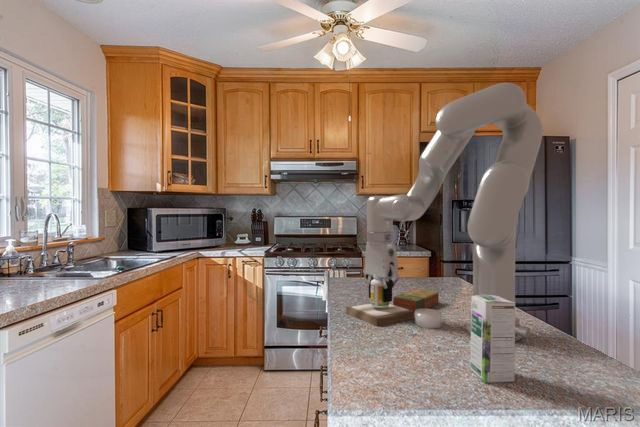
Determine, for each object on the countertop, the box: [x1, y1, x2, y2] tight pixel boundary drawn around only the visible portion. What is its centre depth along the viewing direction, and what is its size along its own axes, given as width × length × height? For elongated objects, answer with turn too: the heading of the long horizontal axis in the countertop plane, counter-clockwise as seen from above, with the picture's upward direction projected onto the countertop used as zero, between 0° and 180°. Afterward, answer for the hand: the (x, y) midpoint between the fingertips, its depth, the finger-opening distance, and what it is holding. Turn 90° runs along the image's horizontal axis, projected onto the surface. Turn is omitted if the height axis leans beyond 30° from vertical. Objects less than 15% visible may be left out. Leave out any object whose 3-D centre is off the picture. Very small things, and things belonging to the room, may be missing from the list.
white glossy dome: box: [414, 308, 443, 329], centre depth 98 cm, size 7×7×4 cm
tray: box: [345, 302, 415, 327], centre depth 106 cm, size 14×14×2 cm
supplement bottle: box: [370, 274, 390, 308], centre depth 106 cm, size 5×5×10 cm
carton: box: [392, 288, 440, 314], centre depth 118 cm, size 8×16×4 cm, turn 138°
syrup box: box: [470, 295, 516, 384], centre depth 67 cm, size 6×6×14 cm
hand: (380, 298), depth 106 cm, fingers closed on supplement bottle, 5 cm apart
